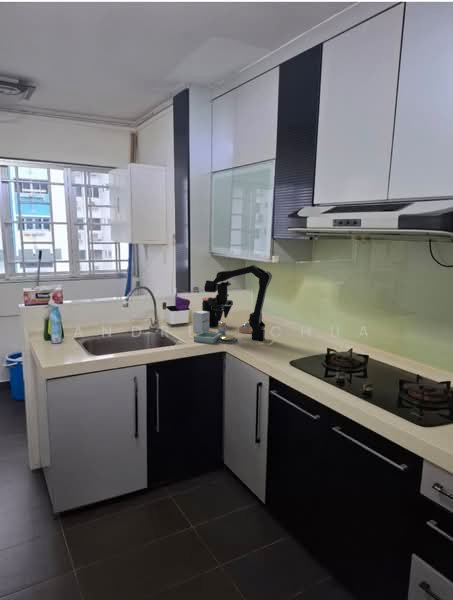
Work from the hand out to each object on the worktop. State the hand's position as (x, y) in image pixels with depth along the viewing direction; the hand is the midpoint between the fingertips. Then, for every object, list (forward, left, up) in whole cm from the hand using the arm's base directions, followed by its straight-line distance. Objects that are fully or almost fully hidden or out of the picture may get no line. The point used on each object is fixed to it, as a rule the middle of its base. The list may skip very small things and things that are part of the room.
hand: (222, 319), depth 232 cm
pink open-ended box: (-10, -15, -10) cm, 21 cm away
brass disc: (-6, +8, -9) cm, 13 cm away
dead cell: (-10, -15, -10) cm, 21 cm away
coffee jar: (+18, -23, -11) cm, 31 cm away
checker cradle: (-6, +8, -10) cm, 15 cm away
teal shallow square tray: (+5, +10, -10) cm, 15 cm away
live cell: (0, 0, -10) cm, 10 cm away
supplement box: (+16, -5, -11) cm, 20 cm away
